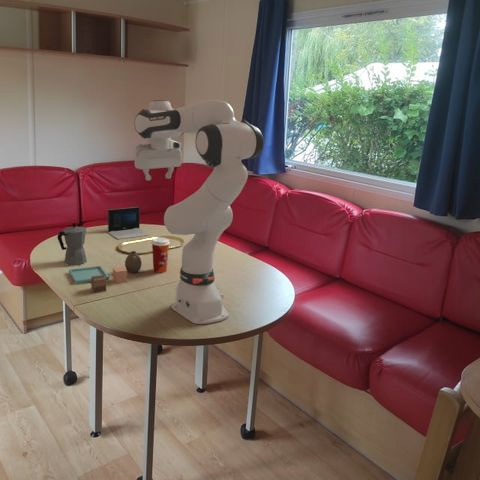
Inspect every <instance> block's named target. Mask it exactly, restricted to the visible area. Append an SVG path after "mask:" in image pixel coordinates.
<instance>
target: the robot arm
mask: <svg viewBox="0 0 480 480" xmlns="http://www.w3.org/2000/svg"><path fill="white" fill-rule="evenodd" d="M233 109H234V108H233V106H231V105H230V104H229V103H228V102H227V101H224V100H221V99H206V100H201V101H198V102H194V103H192V104H188V105H186V106H182V107H178V108H175V109H174V108H173V107H172V104H171V102H170V101H168V100H167V99H165V100H163V99H158V100H157V99H155V100H151V101H150V102H149V104H148V109H146V108H145V109H143V108H142V109H141V110H140V111H139V112H138V113H137V114H136V115H135V118H134V129H135V132H137V134H138V135H139V136H140V137H141V138H143V139H146V140H147V142H146V143H143V144H142V143H141V144H138V145H137V146H136V148H135V156H134V167H135V169H138V170H142V172H143V174H144V176H145V181H151V180H152V175H150V173H149V172H150V170H153V169H162V168H163V169H165V168H167V169H168V170H167V172H166V173H165V179H171V178H172V174H173V172H174V170H175V169H174V168H176V167H181V165H182V163H183V154H182V153H183V152H182V150H181V149H182V143H181V142H179V141H176V140H174V138H175V139H176V138H180V137H181V136H183V134H189V135H194V136H195V148H196V151H197V153H198V155H199V156H200V158H201V159H202V160H203V161H204V162H205V164H206V165H207V166H208V167H211V168H213V170H212V172H211V173H210V174H209V176H208V177H207V178H206V180H205V181H204V182H203V184H202V185H201V186H200V187H199V189H198V190H196V191H195V192H194V193H192V194H191V195H189V196H188V197H186V198H184V199H183V200H182V201H180V202H178V203H176V204H174V205H170V206H168V207H167V208H166V210H165V213H164V215H163V216H164V217H163V223H164V226H165V228H166V230H167V231H168V232H169V233H170V234H172V235H177V236H179V235H180V236H188V235H194V236H193V237H192V238H191V239H190V240H189V241H188V242H187V243H185V245H184V246H183V247H182V250H181V251H182V253H181V267H180V270H179V278H180V281H179V282H178V283H177V285H176V288H175V296H174V297H175V298H174V303H172V304H171V306H170V307H171V309H172V310H173V311H175V312H176V313H178V314H179V315H181V316H182V317H183V318H185V319H186V320H188V321H189V322H191V323H193V324H195V325H196V324H197V325H198V324H199V325H203V324H205V325H206V324H212V323H217V322H221V321H224V320H226V319H227V318H229V313H228V311H227V310H226V308H225V306H224V305H223V300H224V293H222V292H221V293H220V292H219V286H217V285H216V282H215V272H214V268H213V263H214V253H215V248H216V245H217V243H218V241H219V239H220V237H221V236H222V234H223V233H224V231H225V230H227V229H228V228H229V227H230V226H231V225H232V222H233V217H234V216H233V215H234V214H233V209H232V208H231V205H232V204H233V202H234V201H235V200H236V199H237V197H239V195H240V194H241V192H242V191H243V189H244V187H245V185H246V183H247V182H248V181H247V180H248V177H249V175H248V174H249V173H248V170H247V167H246V166H245V165H244V164H243V162H242V161H243V160H251V159H255V158H256V157H259V155H260V154H262V151H263V149H264V145H265V141H264V135H263V134H262V132H261V130H260V129H259V127H257V126H255V125H253V124H251V123H250V122H248V121H247V120H245V119H242V120H240V121H239V120H237V119H236V118H235V112H234V110H233ZM172 138H173V139H172Z"/></svg>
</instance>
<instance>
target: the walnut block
mask: <svg viewBox="0 0 480 480" xmlns="http://www.w3.org/2000/svg"><path fill="white" fill-rule="evenodd" d="M90 284H91V290H92V291H93V293H100V292H101V293H102V292H107V280H106V278H105V277H104V276H103V275H99V276H91V282H90Z"/></svg>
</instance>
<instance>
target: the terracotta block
mask: <svg viewBox="0 0 480 480" xmlns="http://www.w3.org/2000/svg"><path fill="white" fill-rule="evenodd" d="M112 280H113V281H114V283H115V284H122V283H126V282H127V283H128V271H127V270H126V267H125V266H119V267H113V268H112Z"/></svg>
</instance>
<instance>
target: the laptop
mask: <svg viewBox="0 0 480 480" xmlns="http://www.w3.org/2000/svg"><path fill="white" fill-rule="evenodd" d="M140 209H141V208H140V206H135V207H124V208H111V209H107V232H108V235H110V236H112V237H113V238H115V239H116V240H122V239H129V238H130V239H132V238H138V237H139V238H140V237H147V236H150V234H149V233H148V232H146V231H144V230H142V229H141V228H140V216H141V214H140V212H141V211H140Z"/></svg>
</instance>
